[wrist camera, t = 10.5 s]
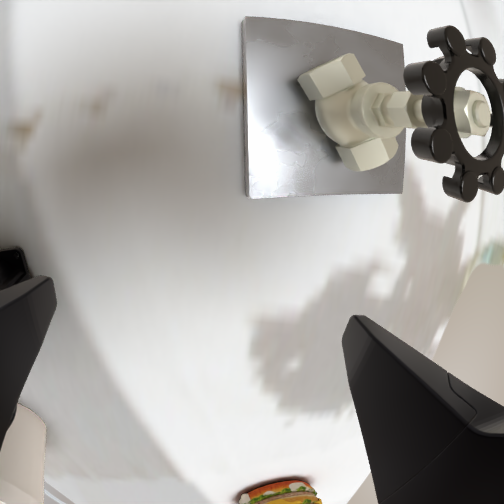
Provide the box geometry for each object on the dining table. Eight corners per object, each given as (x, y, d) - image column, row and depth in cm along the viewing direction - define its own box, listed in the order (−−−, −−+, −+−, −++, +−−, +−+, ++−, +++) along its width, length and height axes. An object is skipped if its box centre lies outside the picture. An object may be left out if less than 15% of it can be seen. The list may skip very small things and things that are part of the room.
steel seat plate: (245, 195, 20) (249, 199, 19) (241, 22, 16) (245, 16, 15) (393, 190, 23) (402, 193, 22) (393, 46, 18) (402, 44, 17)
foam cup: (-9, 419, 23) (-34, 497, 11) (-11, 378, 21) (-50, 471, 9) (54, 450, 26) (42, 534, 15) (63, 417, 24) (45, 520, 13)
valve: (347, 52, 17) (488, 13, 6) (388, 133, 20) (531, 158, 9) (267, 92, 17) (387, 48, 6) (319, 179, 20) (455, 240, 9)
